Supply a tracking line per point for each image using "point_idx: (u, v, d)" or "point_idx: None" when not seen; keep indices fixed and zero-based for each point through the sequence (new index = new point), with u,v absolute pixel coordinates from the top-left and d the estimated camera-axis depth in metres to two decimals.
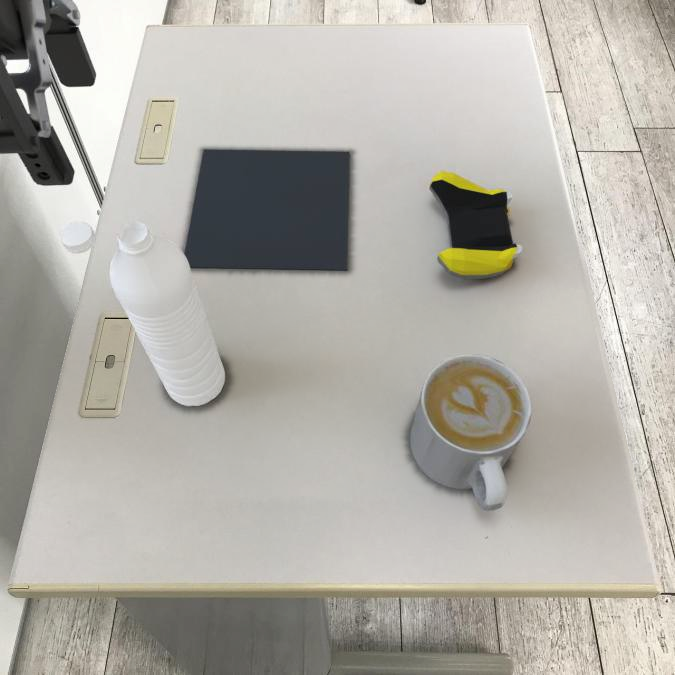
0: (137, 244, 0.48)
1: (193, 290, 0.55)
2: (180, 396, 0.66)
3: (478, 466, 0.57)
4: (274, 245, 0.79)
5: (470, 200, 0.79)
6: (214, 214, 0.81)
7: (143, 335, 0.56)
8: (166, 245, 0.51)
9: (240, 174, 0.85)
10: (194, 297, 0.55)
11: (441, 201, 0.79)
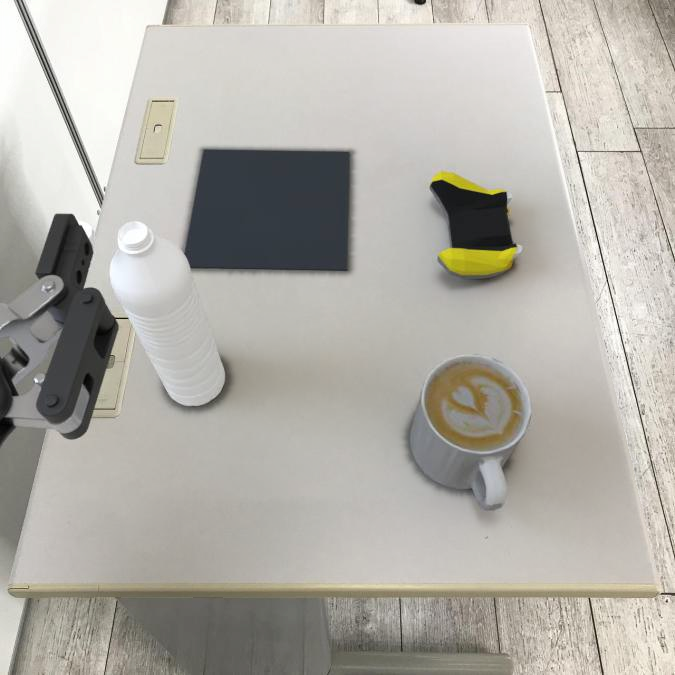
0: (137, 244, 0.48)
1: (193, 290, 0.55)
2: (180, 396, 0.66)
3: (478, 466, 0.57)
4: (274, 245, 0.79)
5: (470, 200, 0.79)
6: (214, 214, 0.81)
7: (143, 335, 0.56)
8: (166, 245, 0.51)
9: (240, 174, 0.85)
10: (194, 297, 0.55)
11: (441, 201, 0.79)
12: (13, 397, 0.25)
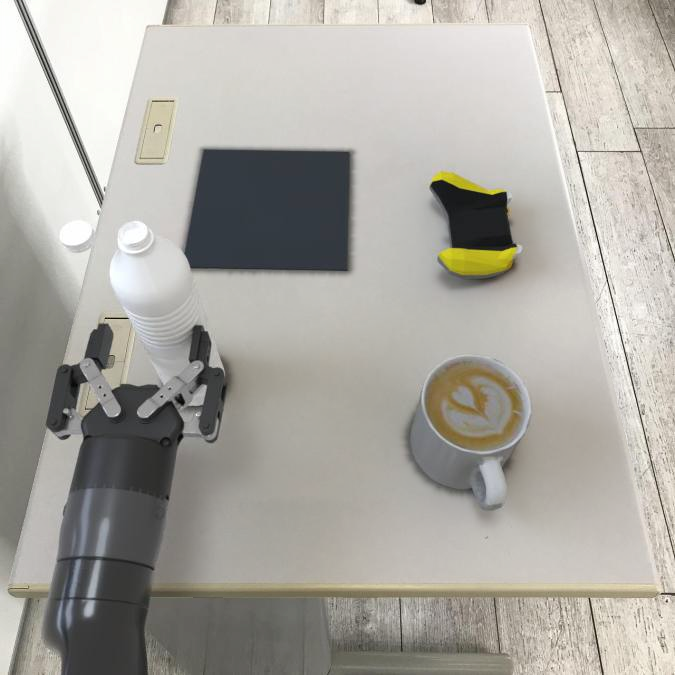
0: (137, 243, 0.48)
1: (193, 290, 0.55)
2: None
3: (478, 466, 0.57)
4: (274, 245, 0.79)
5: (470, 200, 0.79)
6: (214, 214, 0.81)
7: (143, 335, 0.56)
8: (166, 245, 0.51)
9: (240, 174, 0.85)
10: (194, 297, 0.55)
11: (441, 201, 0.79)
12: (184, 423, 0.53)
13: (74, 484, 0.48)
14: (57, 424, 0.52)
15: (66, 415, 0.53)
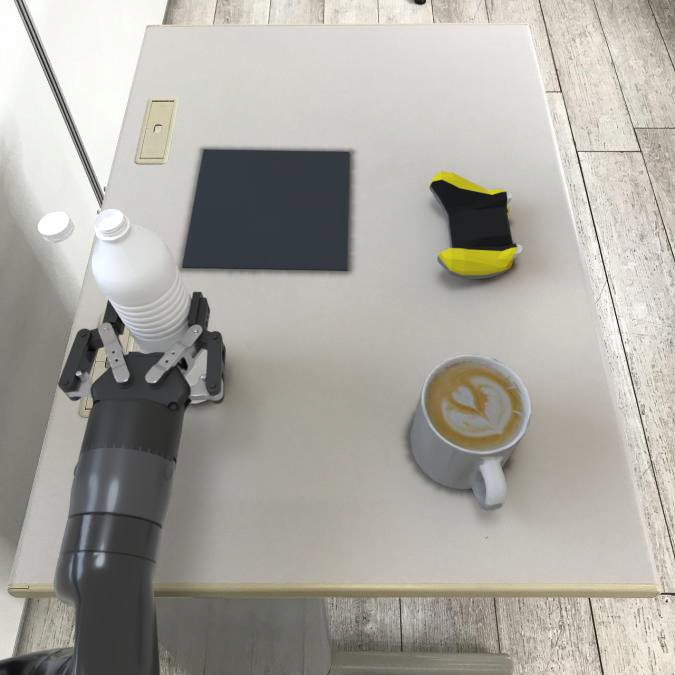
0: (112, 230, 0.48)
1: (177, 279, 0.55)
2: None
3: (478, 466, 0.57)
4: (274, 245, 0.79)
5: (470, 200, 0.79)
6: (214, 214, 0.81)
7: (131, 327, 0.56)
8: (145, 232, 0.51)
9: (240, 174, 0.85)
10: (179, 286, 0.55)
11: (441, 201, 0.79)
12: (191, 388, 0.54)
13: (85, 445, 0.49)
14: (68, 385, 0.54)
15: (78, 377, 0.54)
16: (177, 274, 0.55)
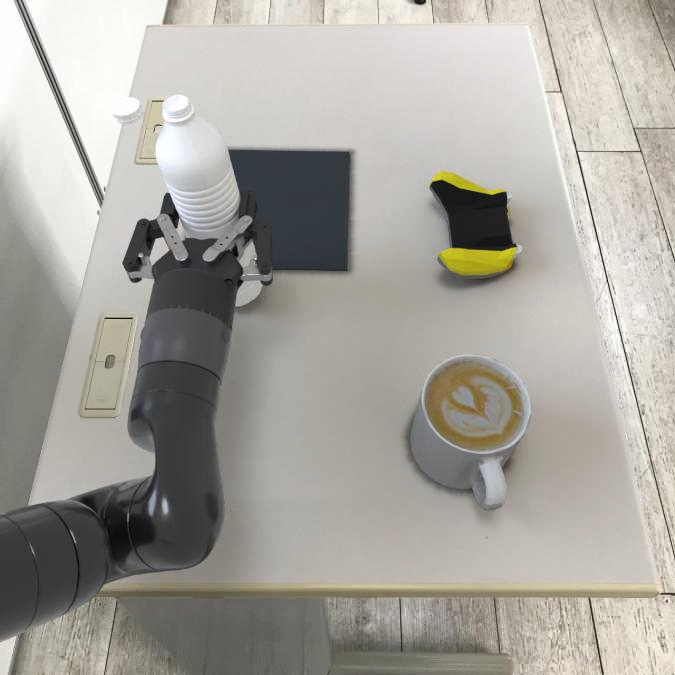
0: (179, 111, 0.53)
1: (231, 170, 0.60)
2: None
3: (478, 466, 0.57)
4: (274, 245, 0.79)
5: (470, 200, 0.79)
6: None
7: (187, 217, 0.61)
8: (205, 121, 0.56)
9: (240, 174, 0.85)
10: (232, 177, 0.60)
11: (441, 201, 0.79)
12: (243, 269, 0.59)
13: (151, 309, 0.54)
14: (132, 264, 0.58)
15: (140, 259, 0.59)
16: (231, 166, 0.60)
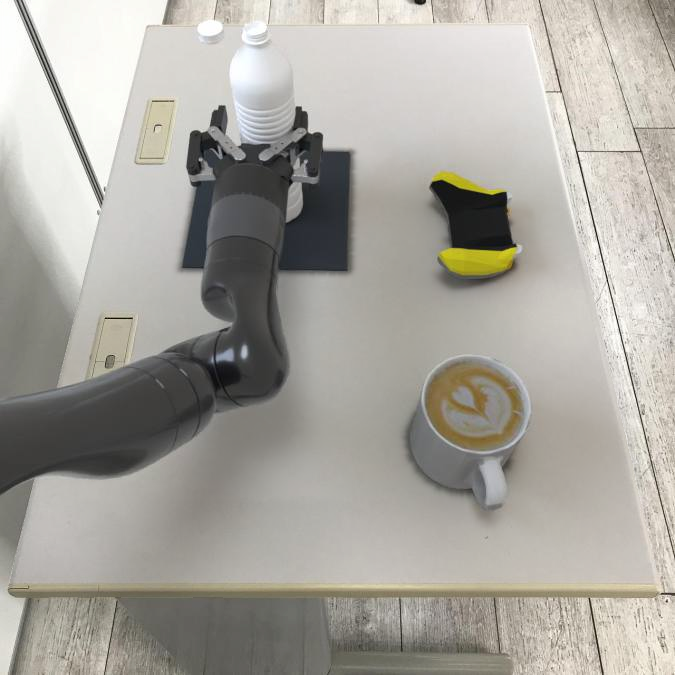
0: (259, 35, 0.60)
1: (293, 93, 0.67)
2: None
3: (478, 466, 0.57)
4: None
5: (470, 200, 0.79)
6: None
7: (250, 134, 0.68)
8: (277, 46, 0.63)
9: None
10: (293, 100, 0.67)
11: (441, 201, 0.79)
12: (294, 169, 0.66)
13: (217, 197, 0.62)
14: (195, 167, 0.66)
15: (200, 163, 0.67)
16: (293, 90, 0.67)
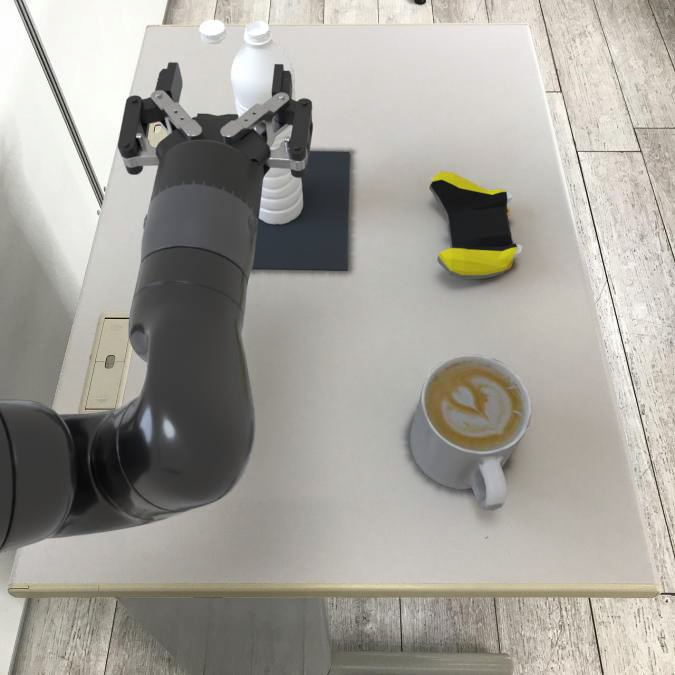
0: (261, 35, 0.60)
1: (294, 94, 0.67)
2: (268, 212, 0.78)
3: (478, 466, 0.57)
4: (274, 245, 0.79)
5: (470, 200, 0.79)
6: None
7: None
8: (279, 47, 0.63)
9: None
10: None
11: (441, 201, 0.79)
12: (271, 150, 0.47)
13: (157, 189, 0.42)
14: (130, 146, 0.46)
15: (139, 142, 0.47)
16: (294, 91, 0.67)
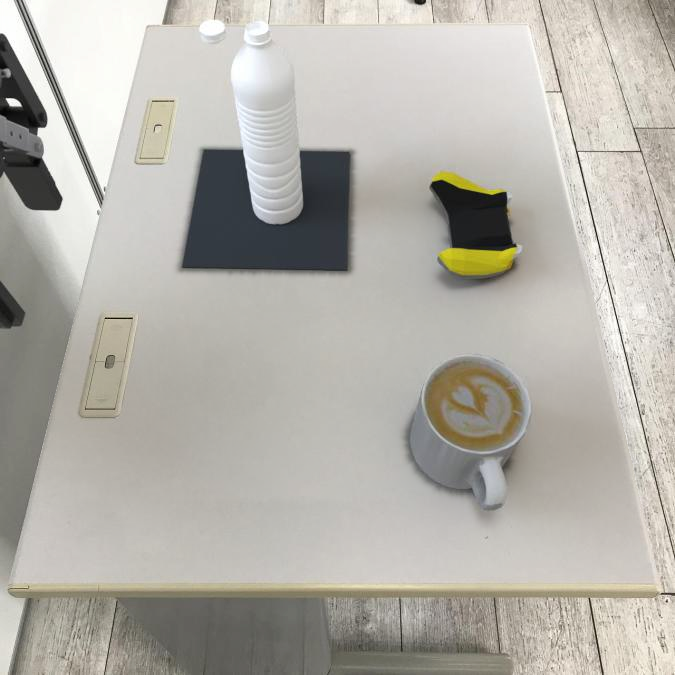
0: (261, 35, 0.60)
1: (294, 94, 0.67)
2: (268, 212, 0.78)
3: (478, 466, 0.57)
4: (274, 245, 0.79)
5: (470, 200, 0.79)
6: (214, 214, 0.81)
7: (251, 135, 0.68)
8: (279, 47, 0.63)
9: (240, 174, 0.85)
10: (294, 101, 0.67)
11: (441, 201, 0.79)
12: None
13: None
14: None
15: None
16: (294, 91, 0.67)
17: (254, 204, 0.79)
